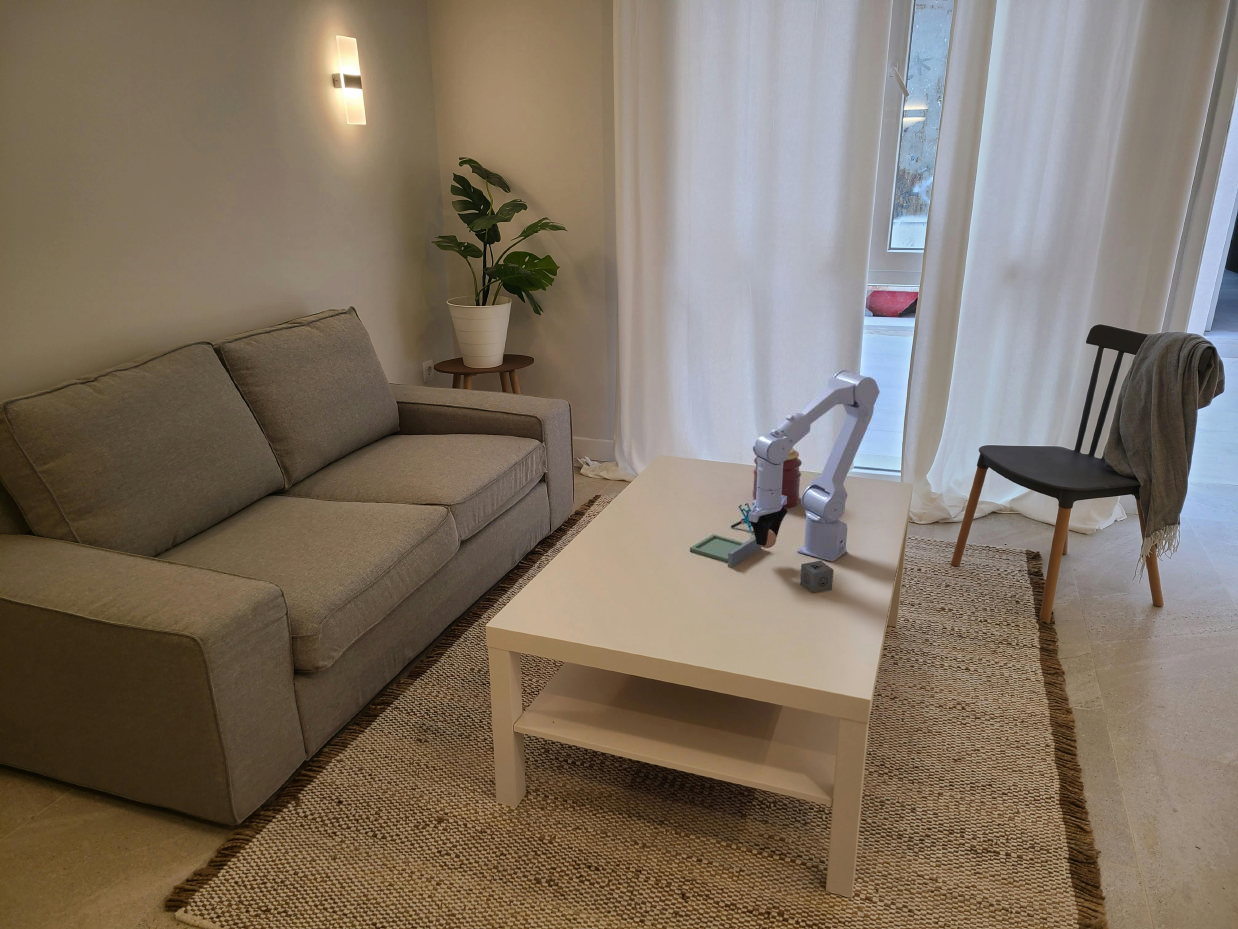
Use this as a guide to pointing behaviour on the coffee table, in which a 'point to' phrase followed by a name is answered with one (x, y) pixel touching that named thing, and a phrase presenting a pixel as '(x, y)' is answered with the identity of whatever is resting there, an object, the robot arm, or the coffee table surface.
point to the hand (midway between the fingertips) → (766, 541)
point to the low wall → (742, 552)
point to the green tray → (715, 547)
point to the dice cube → (816, 577)
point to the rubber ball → (770, 539)
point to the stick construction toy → (745, 519)
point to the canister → (786, 479)
